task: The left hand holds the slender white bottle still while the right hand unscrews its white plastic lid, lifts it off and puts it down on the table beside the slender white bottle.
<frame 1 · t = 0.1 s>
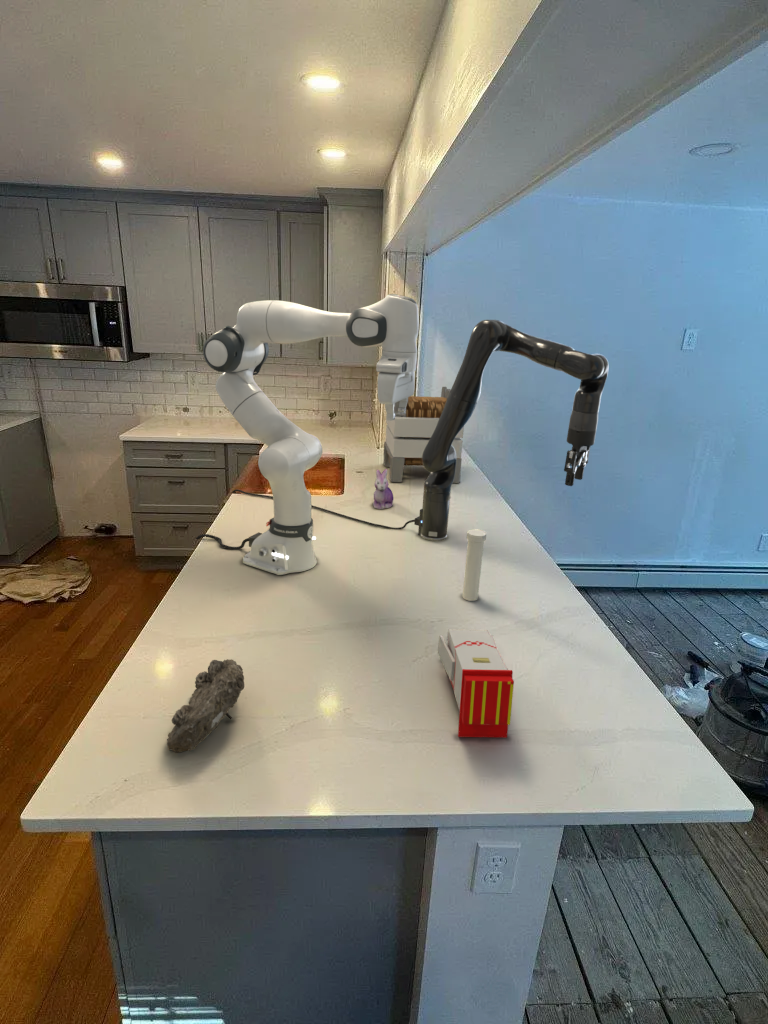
left hand: (396, 417, 149), 48 cm above the counter, tool pointing down, fingers open, 8 cm apart
right hand: (573, 482, 165), 29 cm above the counter, tool pointing down, fingers open, 8 cm apart
grey boxy piece: (419, 473, 275), on the counter
lid: (476, 533, 151), point 19 cm above the counter, screwed on, not yet turned
slender white bottle: (470, 597, 158), on the counter
figurine: (382, 506, 227), on the counter
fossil: (212, 717, 108), on the counter
toy: (469, 691, 119), on the counter
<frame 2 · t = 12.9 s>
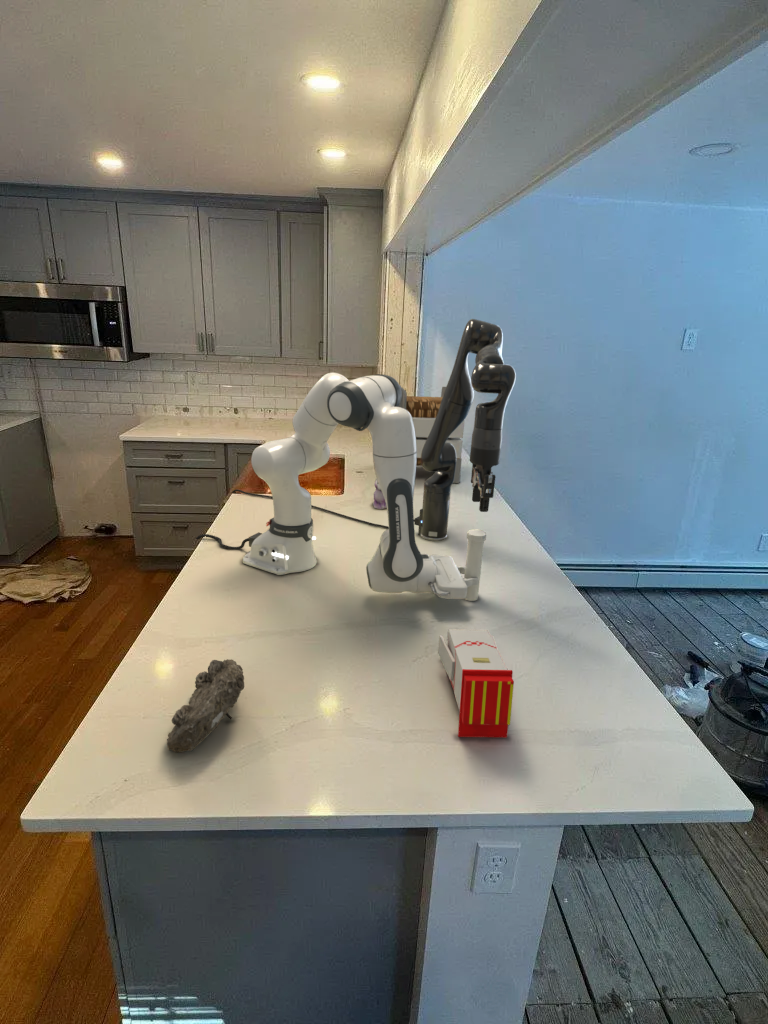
left hand: (475, 576, 156), 7 cm above the counter, tool horizontal, fingers closed on slender white bottle, 4 cm apart
right hand: (479, 506, 149), 27 cm above the counter, tool pointing down, fingers open, 7 cm apart
slender white bottle: (470, 597, 158), on the counter, touching left hand
everything else where it was.
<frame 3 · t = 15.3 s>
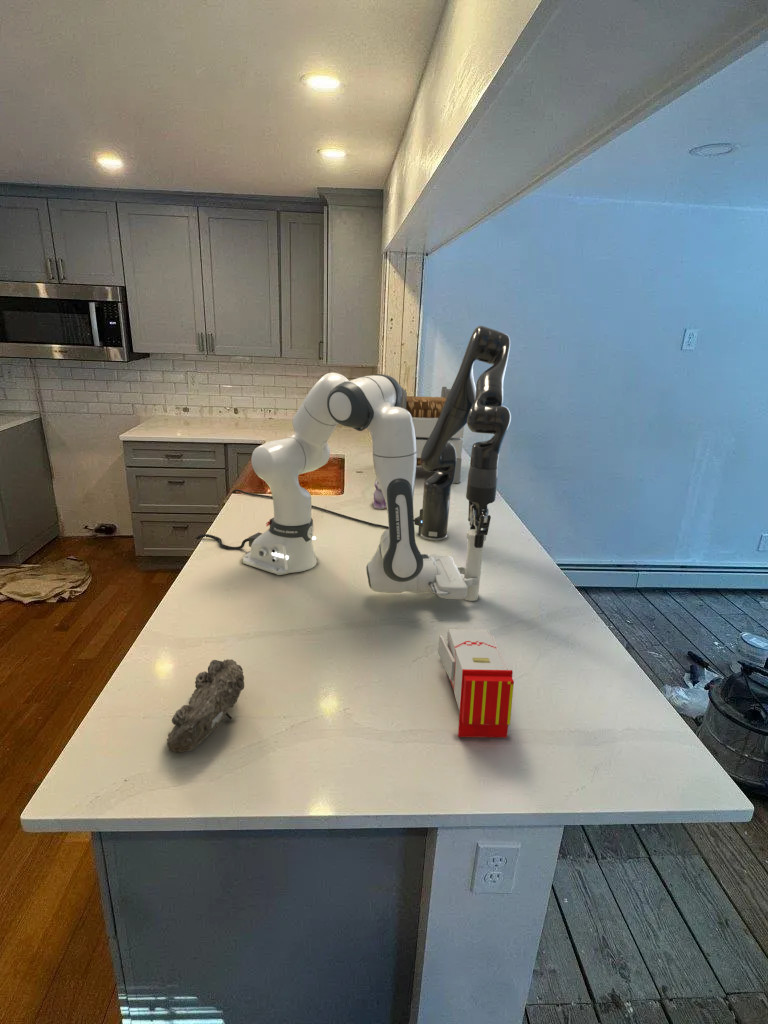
left hand: (475, 576, 156), 7 cm above the counter, tool horizontal, fingers closed on slender white bottle, 4 cm apart
right hand: (475, 542, 152), 16 cm above the counter, tool pointing down, fingers closed on lid, 5 cm apart
lid: (476, 533, 151), point 19 cm above the counter, screwed on, not yet turned, touching right hand
slender white bottle: (470, 597, 158), on the counter, touching left hand
everything else where it was.
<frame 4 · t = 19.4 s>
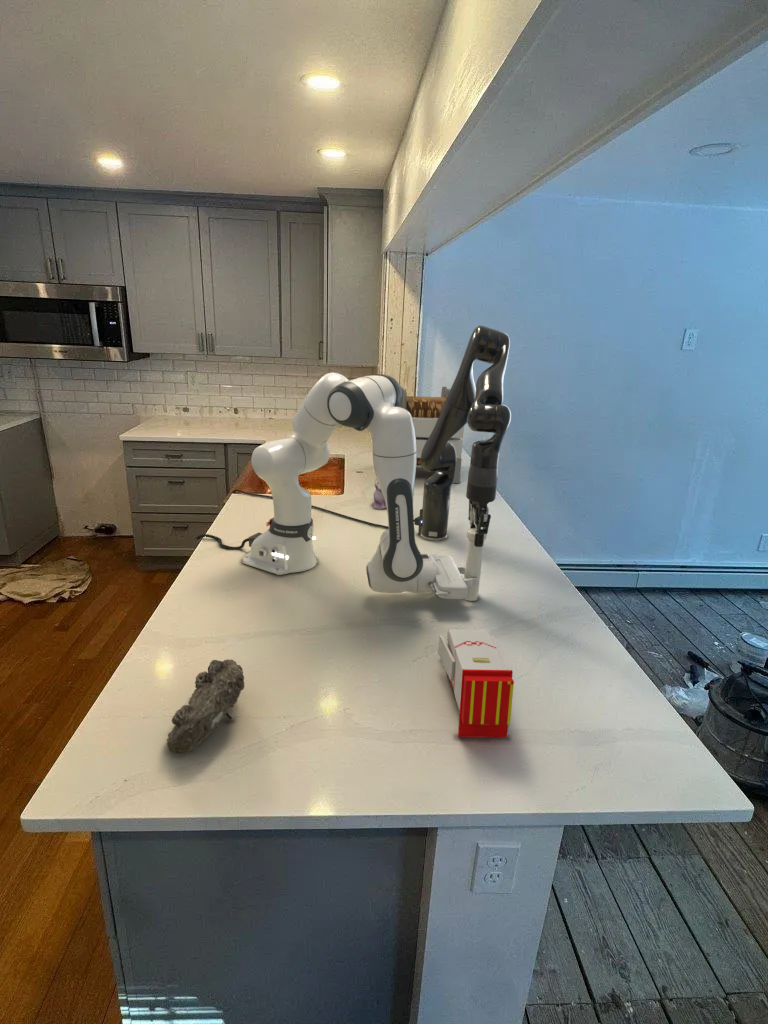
left hand: (475, 576, 156), 7 cm above the counter, tool horizontal, fingers closed on slender white bottle, 4 cm apart
right hand: (475, 541, 152), 17 cm above the counter, tool pointing down, fingers closed on lid, 5 cm apart
lid: (477, 532, 151), point 19 cm above the counter, turned 102° so far, risen 0.3 cm, still on its thread, touching right hand
slender white bottle: (469, 597, 158), on the counter, touching left hand
everything else where it was.
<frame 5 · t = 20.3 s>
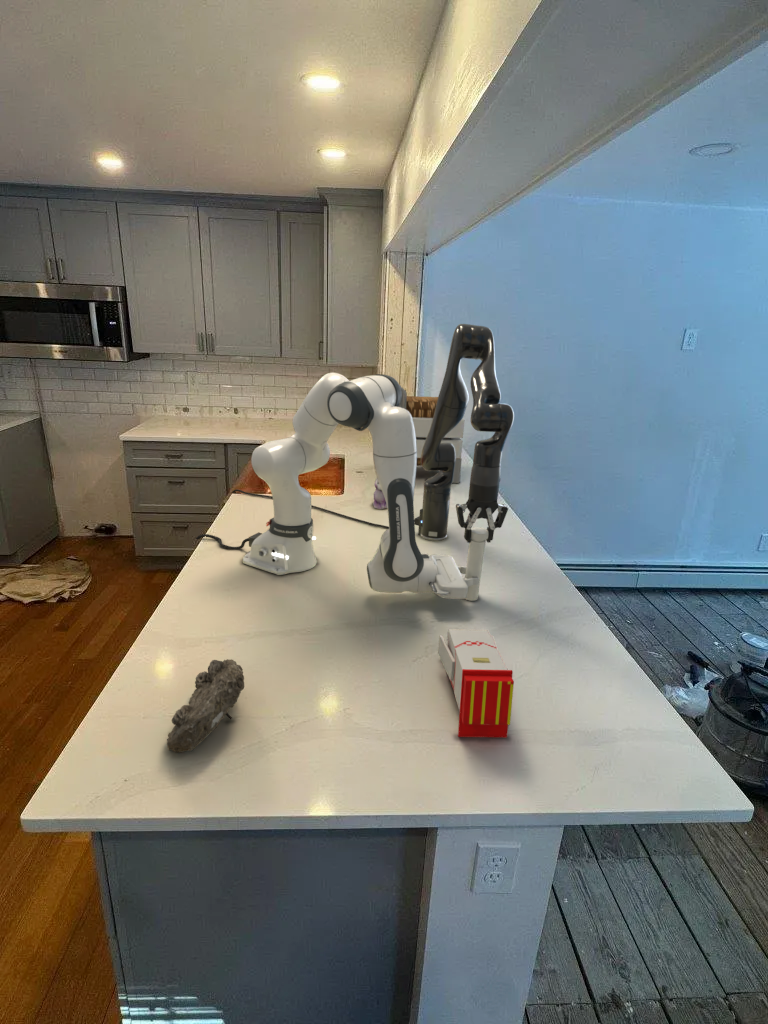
left hand: (475, 575, 156), 7 cm above the counter, tool horizontal, fingers closed on slender white bottle, 4 cm apart
right hand: (478, 541, 152), 17 cm above the counter, tool pointing down, fingers closed on lid, 5 cm apart
lid: (479, 531, 151), point 20 cm above the counter, off its thread, touching right hand, slender white bottle
slender white bottle: (470, 597, 158), on the counter, touching left hand, lid
everything else where it was.
when the right hand's fingers open (0 cm above the counter, at t = 27.1 s): lid drops 2 cm, point 2 cm above the counter.
when the left hand's fingers open (7 cm above the counter, at t = 28.2 s): slender white bottle stays where it is, on the counter.
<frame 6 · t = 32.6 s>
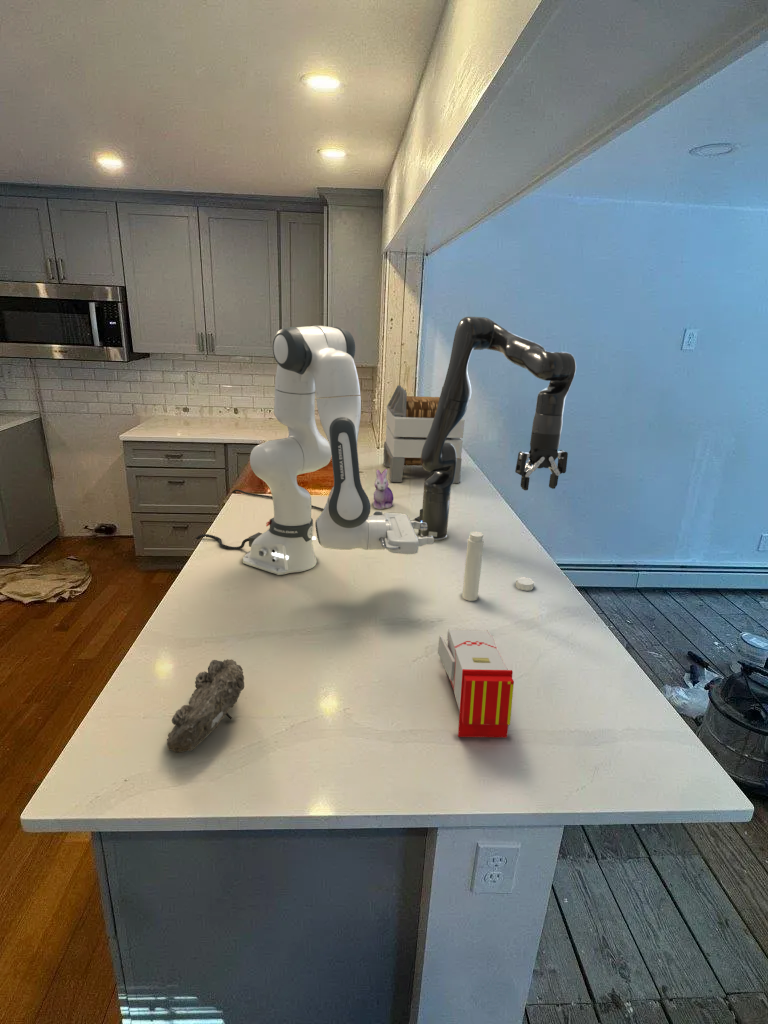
left hand: (430, 532, 150), 19 cm above the counter, tool horizontal, fingers open, 8 cm apart
right hand: (538, 488, 155), 30 cm above the counter, tool pointing down, fingers open, 8 cm apart
lid: (525, 582, 165), point 2 cm above the counter, off its thread
slender white bottle: (469, 597, 158), on the counter
everything else where it was.
at the end: lid came off its thread; lid point 1.5 cm above the counter; the left hand is holding nothing; the right hand is holding nothing; slender white bottle tilted 0°; slender white bottle moved 0.0 cm from its start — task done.
